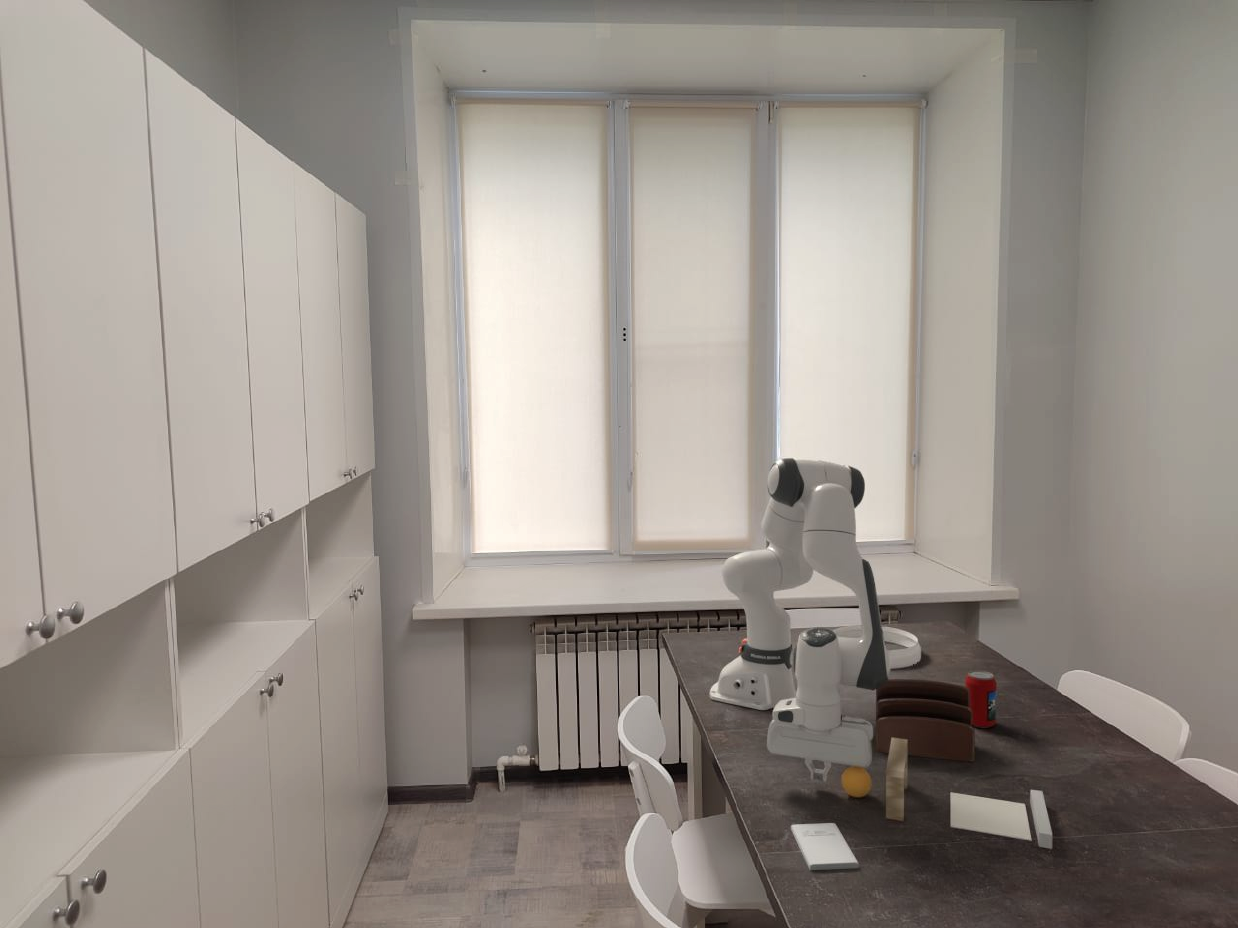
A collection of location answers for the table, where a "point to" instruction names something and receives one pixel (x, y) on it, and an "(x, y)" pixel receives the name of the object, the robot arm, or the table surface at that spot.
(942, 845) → the table surface
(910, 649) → the white ring
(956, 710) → the letter holder
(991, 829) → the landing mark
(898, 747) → the bridge
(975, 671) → the beverage can
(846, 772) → the ball
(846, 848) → the external hard drive
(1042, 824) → the stopper
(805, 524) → the robot arm
